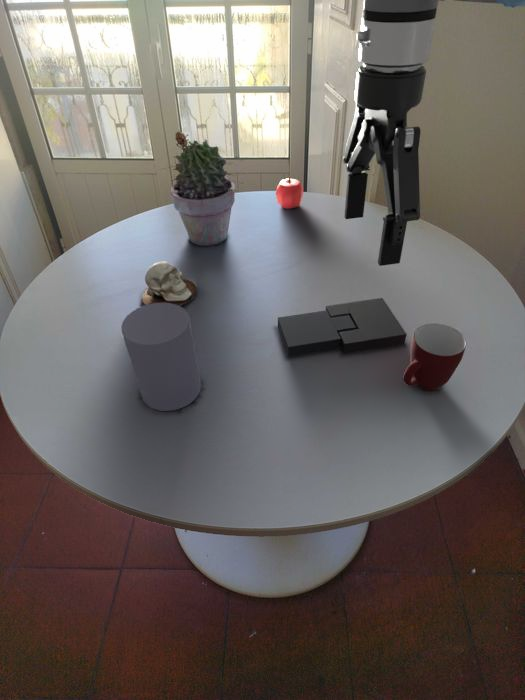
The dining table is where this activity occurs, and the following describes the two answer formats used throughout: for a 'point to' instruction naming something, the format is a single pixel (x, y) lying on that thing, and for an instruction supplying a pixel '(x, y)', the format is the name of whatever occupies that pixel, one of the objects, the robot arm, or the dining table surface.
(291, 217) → the dining table surface
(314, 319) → the pad
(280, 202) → the apple
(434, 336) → the mug
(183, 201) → the potted plant
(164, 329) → the container
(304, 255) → the dining table surface
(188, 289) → the skull
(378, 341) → the base pad
